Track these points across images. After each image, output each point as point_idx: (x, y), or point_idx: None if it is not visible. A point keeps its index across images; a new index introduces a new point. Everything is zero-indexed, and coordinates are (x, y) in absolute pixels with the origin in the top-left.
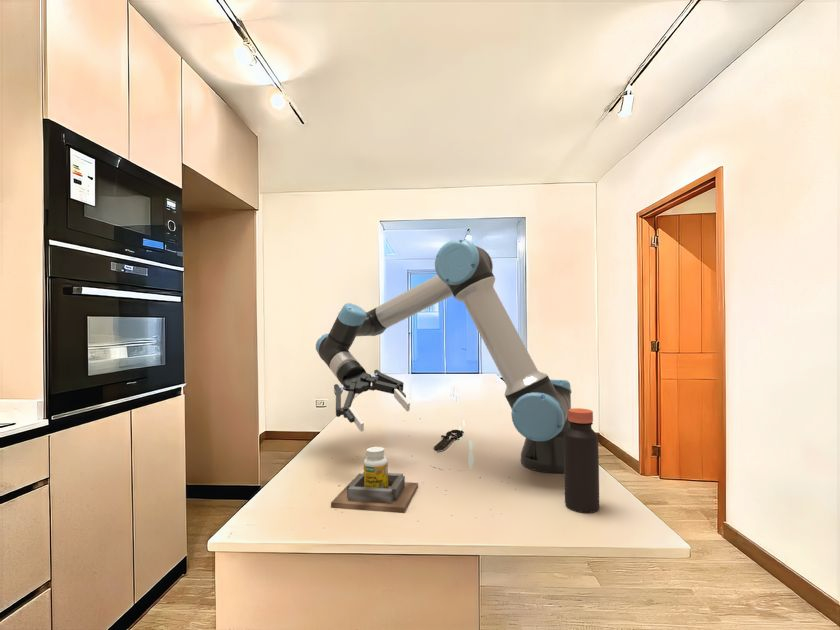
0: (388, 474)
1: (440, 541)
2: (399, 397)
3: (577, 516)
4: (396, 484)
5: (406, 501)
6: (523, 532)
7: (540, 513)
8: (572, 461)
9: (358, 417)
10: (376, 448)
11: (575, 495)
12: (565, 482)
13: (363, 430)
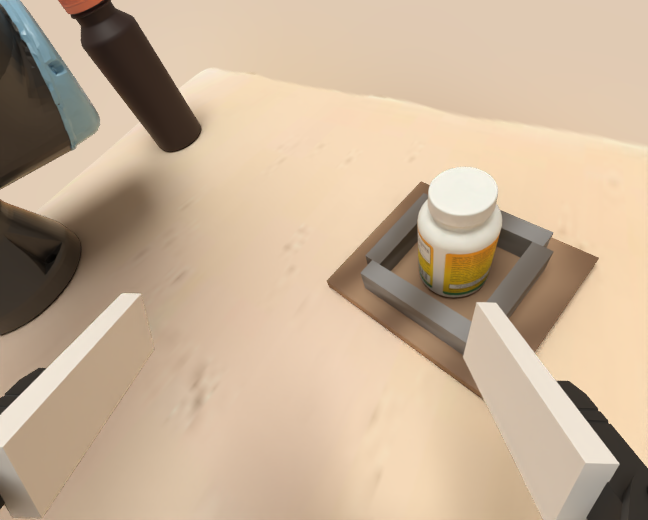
0: (401, 283)
1: (410, 108)
2: (85, 385)
3: (212, 120)
4: (411, 215)
5: (404, 202)
6: (299, 105)
7: (238, 135)
8: (159, 63)
9: (509, 340)
10: (455, 194)
11: (189, 109)
12: (175, 110)
13: (465, 354)
